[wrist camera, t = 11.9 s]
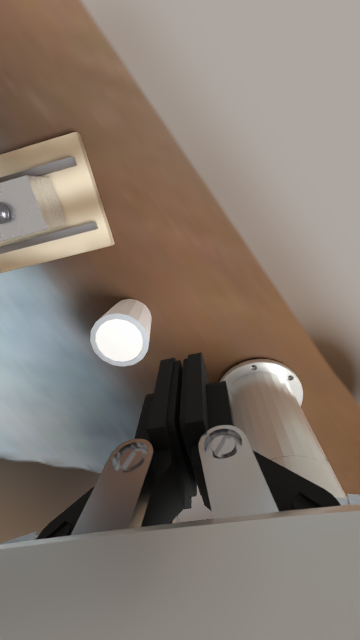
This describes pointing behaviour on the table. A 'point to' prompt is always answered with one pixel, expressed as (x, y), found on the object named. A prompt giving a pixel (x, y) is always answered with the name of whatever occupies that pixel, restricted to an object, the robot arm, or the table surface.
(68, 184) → the gauge bed
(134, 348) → the shot glass
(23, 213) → the knobbed grey slider
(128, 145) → the table surface
